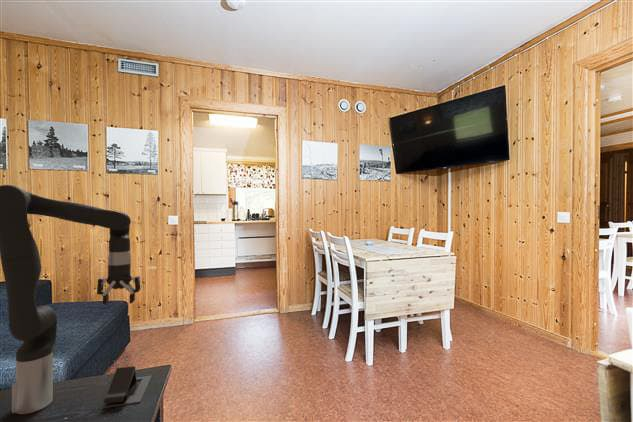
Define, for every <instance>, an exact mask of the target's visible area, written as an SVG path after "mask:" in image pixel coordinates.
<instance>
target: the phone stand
mask: <svg viewBox="0 0 633 422" xmlns="http://www.w3.org/2000/svg"><path fill="white" fill-rule="evenodd" d="M136 378H137V373H136V366H135V365H134V366H133V365H131V366H124V367H123V366H122V367H117V368H116V369H115V372H114V375H113V378H112V380H111V383H110V386H109V389H108V392H107V394H106V396H105V397H104V399H103V404H104V405H103V407H104V406H112V405H120V404H125V403H126V400H127V398H128V397H129V396H131V394H132V393H133V392H134V391H135V390H136V388H138V387H137V386H138V385H137V381H136ZM105 404H106V405H105Z"/></svg>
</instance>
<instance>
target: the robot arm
mask: <svg viewBox="0 0 633 422" xmlns="http://www.w3.org/2000/svg"><path fill="white" fill-rule="evenodd" d="M28 215H37V216H43V217H44V216H45V217H51V218H55V219H60V220H64V221H69V222H72V223H78V224H83V225H89V226H98V227H102V228H106V229H109V240H108V255H107V278H105V277H100V278H99V279H98V280H97V288H96V294H97V295H100V296H102V304H103V305H104V306H108V305H109V302H110V301H109V299H110V298H109V297H110V294H109V293H110V292H111V290H119V289H120V290H123V289H125V290H126V291H128V293H129V304H133V303H134V302H135V300H136V293H138V292H140V291H141V276H140V275H136V276H132V274H131V270H132V269H131V267H132V266H131V265H132V258H131V257H132V255H131V238H130V225H131V223H132V222H131V221H132V220H131V217H130V216H129V214H127V213H125V212H123V211H115V210H109V209H104V208H101V207H97V206H94V205H93V206H92V205H88V204H84V203H78V202H71V201H64V200H57V199H52V198H48V197H43V196H40V195H38V194H33V193H32V192H28V191H26V190H25V189H23V188H20V187H19V186H15V185H12V184H4V185H3V184H2V185H0V263H1V268H2V273H3V277H4V282H5V283H4V284H5V291H6V296H7V305H8V306H7V307H8V311H7V312H8V329H9V332H10V335H12V338H14V339H15V340H18V341H20V342H22V344H21V345H20V347H18V349H17V350H16V353H15V382H13V384H12V385H11V413H12V414H17V415H27V414H31V413H34V412H35V413H36V412H38V411H41V410H42V409H44V408H46V407H47V406H49V405H50V404H51V403H52V402H53V394H54V393H53V390H54V389H53V383H54V382H53V381H54V380H53V375H54V373H53V372H54V371H53V368H54V367H53V366H54V364H53V363H54V362H53V361H54V359H53V357H54V346H55V343H56V339H57V328H58V327H57V325H58V316H57V312H56V311H55V310H54V308H52V307H51V306H48V305H38V306H37V304H36V290H37V287H38V284H39V279H40V276H41V273H42V262H41V256H40V251H39V248H38V246H37V242H36V240H35V238H34V235H33V233H32V231H31V228H30V226H29V220H28V219H29V218H28ZM131 282H133V284H134V287H135V288H134V287H133V285H132V284H131ZM106 283H107V285H108V286H107V287H106V289H105V290H104V286H105V285H104V284H106Z"/></svg>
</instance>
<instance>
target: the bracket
mask: <svg viewBox="0 0 633 422" xmlns="http://www.w3.org/2000/svg"><path fill="white" fill-rule="evenodd" d="M151 379H152V375H146V376H138V377H137V376H136V382H137V381H140V382H139V385H137V386H138V387H136V388H137V389H136V390H135V393H134V395H130V396H129V397H128V398H127V400H126V403H125V404H120V405H112V406H104V405H106V403H105V404H104V405H103V409H108V408H114V407H115V408H116V407H121V406H127V405H133V404H141V401H142V400H143V398H144V395H145V393H146V390H147V388H148V386H149V384H150V382H151Z"/></svg>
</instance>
